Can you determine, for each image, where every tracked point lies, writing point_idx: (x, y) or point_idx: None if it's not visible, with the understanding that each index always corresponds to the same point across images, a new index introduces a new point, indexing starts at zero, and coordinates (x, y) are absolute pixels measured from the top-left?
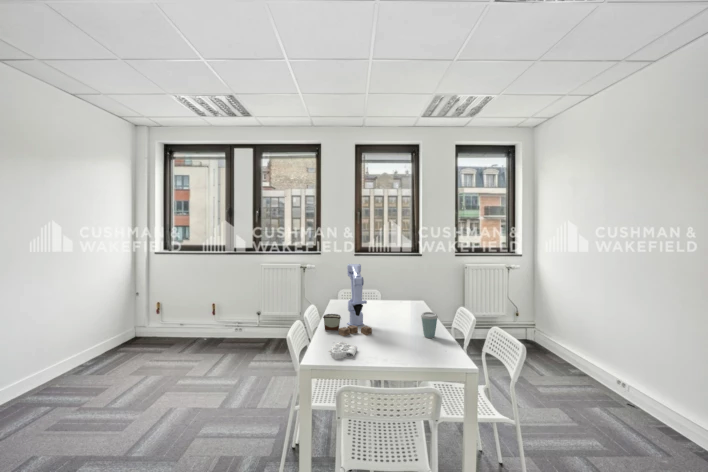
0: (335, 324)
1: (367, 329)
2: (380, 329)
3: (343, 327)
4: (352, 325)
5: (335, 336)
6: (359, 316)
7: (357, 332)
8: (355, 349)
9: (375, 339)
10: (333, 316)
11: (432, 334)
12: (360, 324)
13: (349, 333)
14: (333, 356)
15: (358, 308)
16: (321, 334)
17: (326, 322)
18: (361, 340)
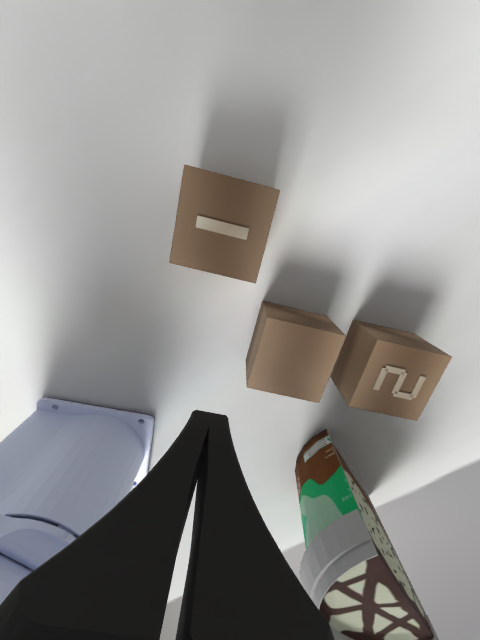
0: (356, 492)
1: (257, 185)
2: (15, 190)
3: (372, 407)
4: (261, 386)
5: (452, 374)
6: (34, 472)
7: (267, 302)
8: None
9: (332, 9)
10: (382, 596)
11: None
12: (78, 405)
13: (360, 324)
14: None
15: (252, 557)
16: (458, 463)
17: (394, 555)
18: (443, 128)
